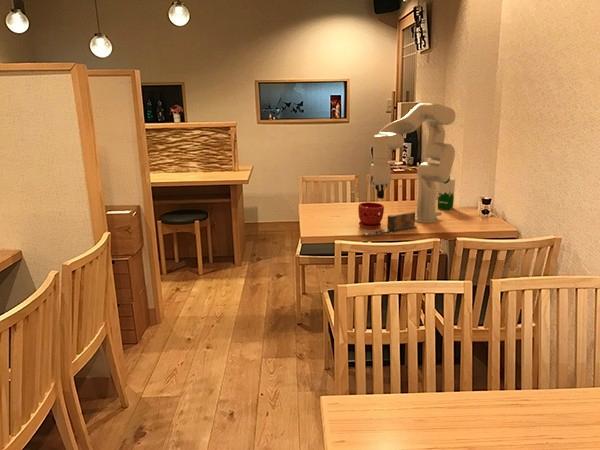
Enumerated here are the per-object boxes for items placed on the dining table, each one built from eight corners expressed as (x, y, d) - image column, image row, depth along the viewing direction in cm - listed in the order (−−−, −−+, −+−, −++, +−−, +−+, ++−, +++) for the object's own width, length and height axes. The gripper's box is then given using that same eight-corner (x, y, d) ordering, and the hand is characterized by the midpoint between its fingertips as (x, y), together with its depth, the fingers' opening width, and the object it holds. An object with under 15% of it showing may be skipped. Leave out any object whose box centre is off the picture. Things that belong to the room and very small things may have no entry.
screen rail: (412, 226, 260) (413, 224, 260) (416, 228, 257) (416, 226, 257) (363, 235, 246) (363, 233, 246) (366, 237, 244) (366, 235, 244)
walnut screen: (412, 224, 259) (412, 211, 257) (415, 225, 257) (416, 212, 255) (387, 229, 252) (387, 215, 250) (390, 230, 250) (390, 216, 248)
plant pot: (370, 231, 252) (371, 209, 249) (352, 226, 262) (353, 204, 259) (388, 227, 260) (389, 205, 256) (370, 222, 270) (371, 200, 267)
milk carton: (435, 209, 295) (437, 175, 290) (440, 205, 302) (442, 173, 297) (450, 210, 291) (452, 177, 285) (454, 207, 298) (457, 174, 292)
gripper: (388, 158, 245) (388, 194, 250) (363, 161, 239) (363, 198, 244) (398, 160, 238) (397, 197, 244) (372, 163, 232) (372, 201, 238)
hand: (380, 198), depth 244 cm, fingers closed
